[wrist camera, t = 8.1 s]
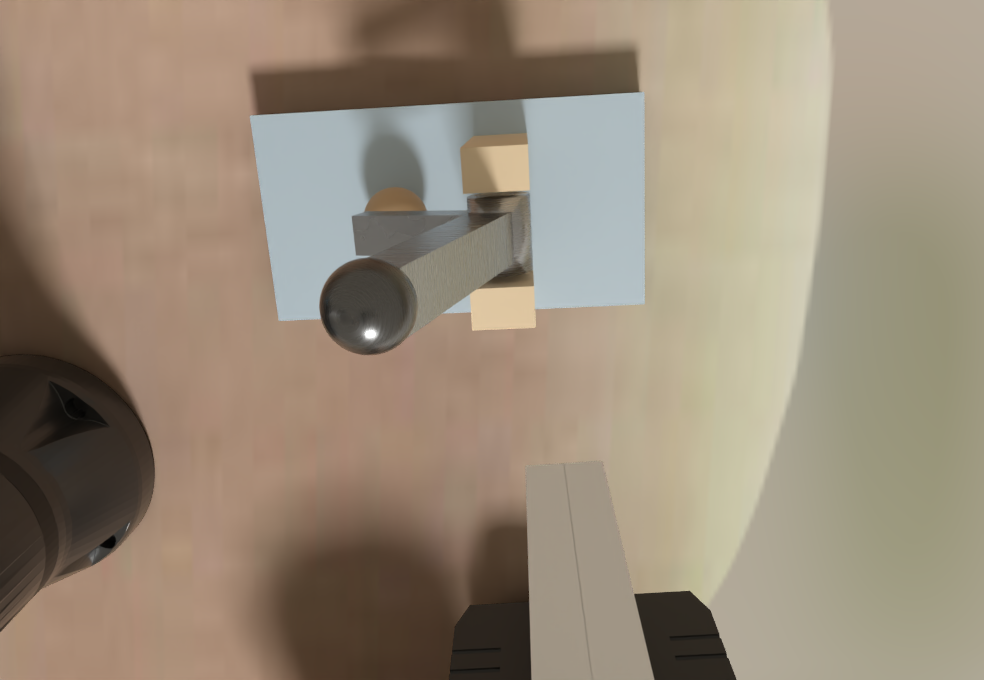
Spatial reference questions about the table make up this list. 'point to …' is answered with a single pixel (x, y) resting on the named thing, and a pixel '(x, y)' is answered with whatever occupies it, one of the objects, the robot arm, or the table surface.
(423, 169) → the base
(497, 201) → the lever
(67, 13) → the table surface
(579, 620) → the robot arm
